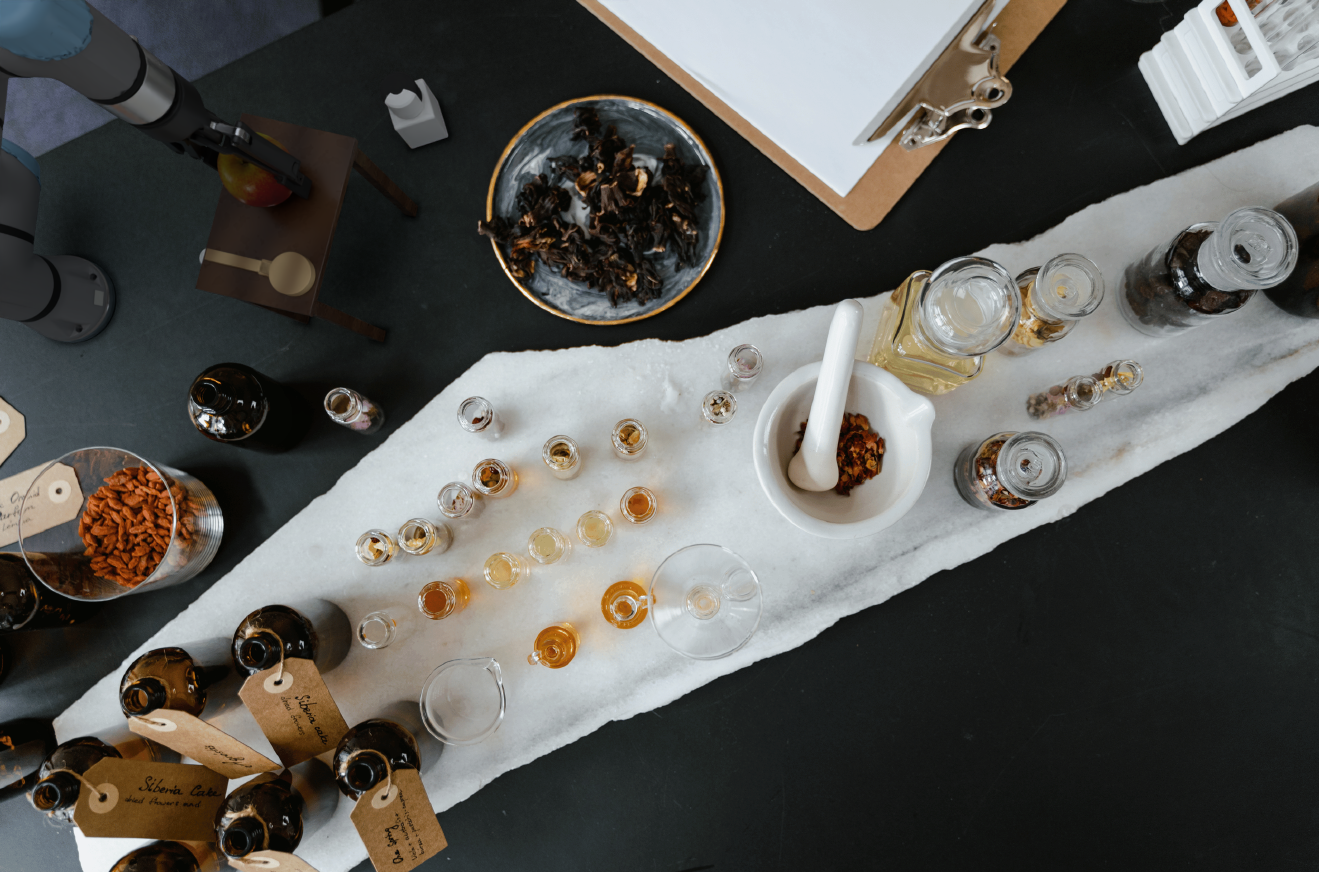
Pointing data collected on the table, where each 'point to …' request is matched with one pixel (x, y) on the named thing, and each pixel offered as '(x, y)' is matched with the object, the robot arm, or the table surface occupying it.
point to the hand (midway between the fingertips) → (273, 182)
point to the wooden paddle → (273, 269)
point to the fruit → (251, 180)
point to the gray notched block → (413, 109)
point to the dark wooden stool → (294, 224)
